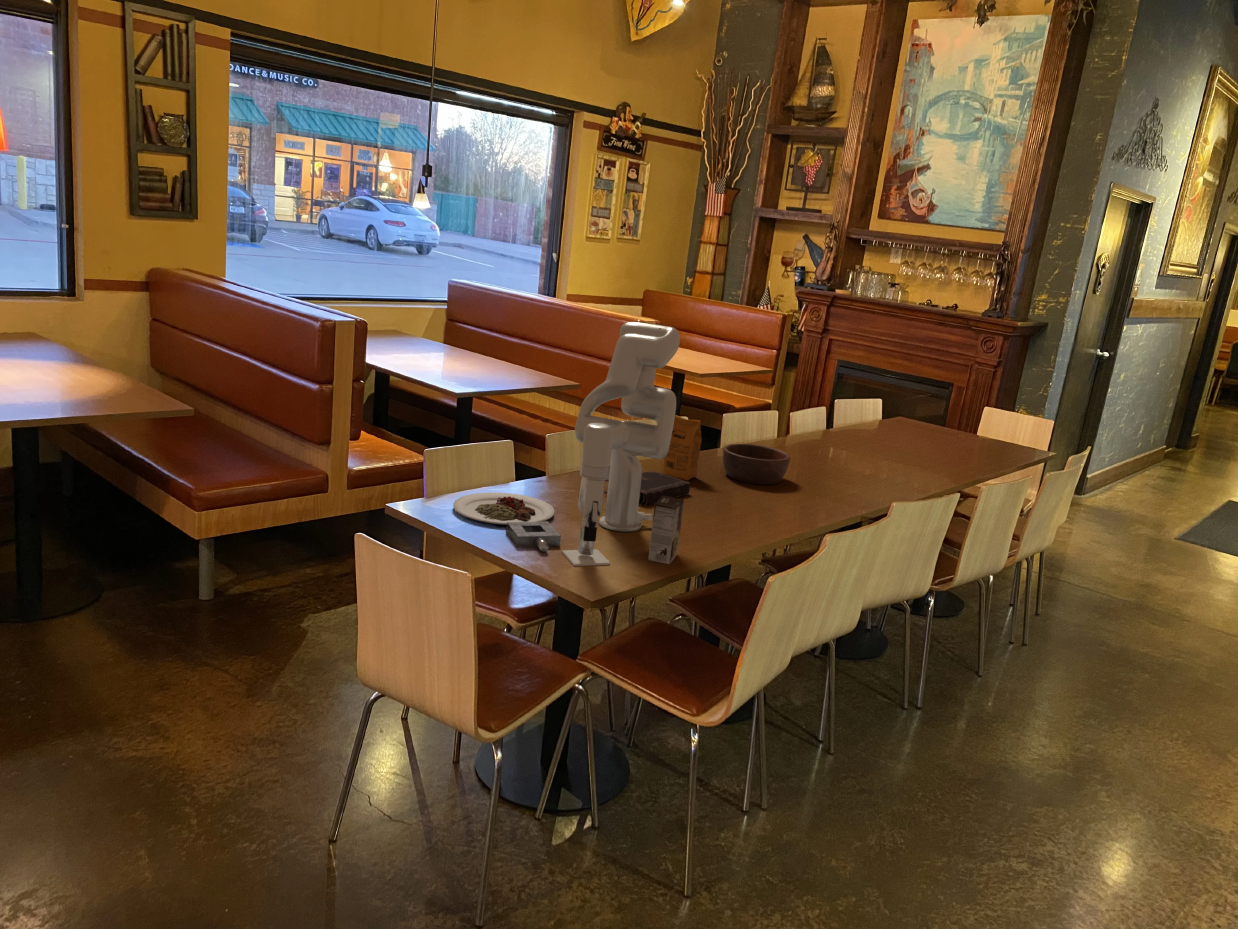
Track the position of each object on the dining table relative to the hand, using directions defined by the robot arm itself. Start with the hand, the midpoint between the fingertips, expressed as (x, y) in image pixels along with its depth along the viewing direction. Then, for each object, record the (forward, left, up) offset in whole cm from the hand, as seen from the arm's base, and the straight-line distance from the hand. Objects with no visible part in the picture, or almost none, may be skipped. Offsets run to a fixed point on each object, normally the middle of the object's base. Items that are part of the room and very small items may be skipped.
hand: (587, 537), depth 248 cm
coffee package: (-64, -79, -6) cm, 102 cm away
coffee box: (-22, +1, -6) cm, 23 cm away
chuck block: (+10, -14, -6) cm, 18 cm away
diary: (-42, -58, -7) cm, 72 cm away
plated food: (+12, -40, -6) cm, 42 cm away
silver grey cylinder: (0, 0, -4) cm, 4 cm away
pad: (0, 0, -6) cm, 6 cm away
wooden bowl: (-94, -77, -6) cm, 122 cm away
